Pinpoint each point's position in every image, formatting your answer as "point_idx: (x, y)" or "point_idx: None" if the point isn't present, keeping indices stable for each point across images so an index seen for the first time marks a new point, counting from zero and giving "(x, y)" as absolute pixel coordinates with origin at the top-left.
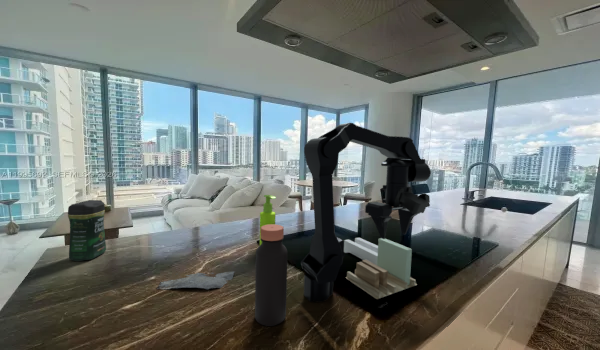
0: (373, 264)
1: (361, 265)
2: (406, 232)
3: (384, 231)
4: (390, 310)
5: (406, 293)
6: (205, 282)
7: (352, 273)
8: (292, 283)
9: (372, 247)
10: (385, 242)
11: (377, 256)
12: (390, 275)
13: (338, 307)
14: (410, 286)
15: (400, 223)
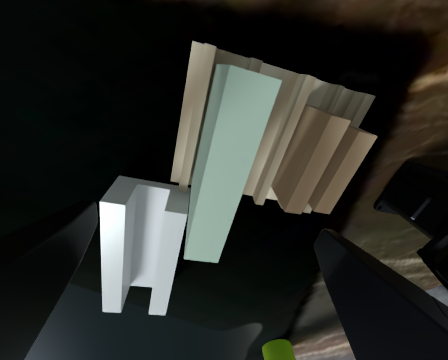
0: (307, 177)
1: (339, 195)
2: (73, 205)
3: (392, 271)
4: (377, 47)
5: (256, 55)
6: (445, 301)
7: None
8: (377, 246)
9: (124, 257)
10: (228, 225)
11: (184, 212)
12: None
13: (421, 145)
14: (227, 54)
15: (47, 316)
